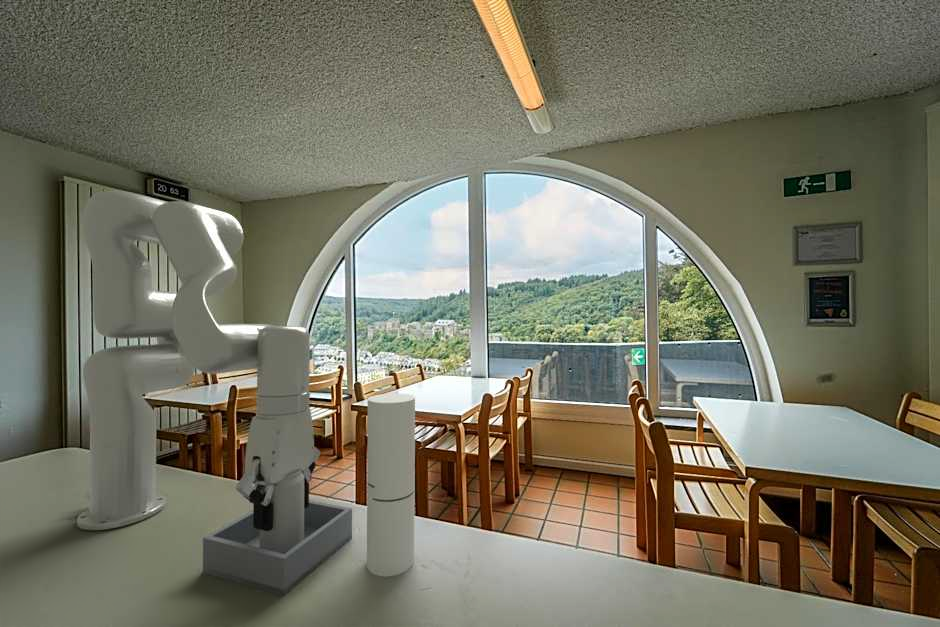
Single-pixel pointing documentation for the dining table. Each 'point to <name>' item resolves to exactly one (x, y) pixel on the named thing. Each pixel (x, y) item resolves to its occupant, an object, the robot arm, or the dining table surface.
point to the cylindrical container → (390, 483)
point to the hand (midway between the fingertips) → (282, 516)
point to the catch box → (271, 571)
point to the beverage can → (285, 515)
